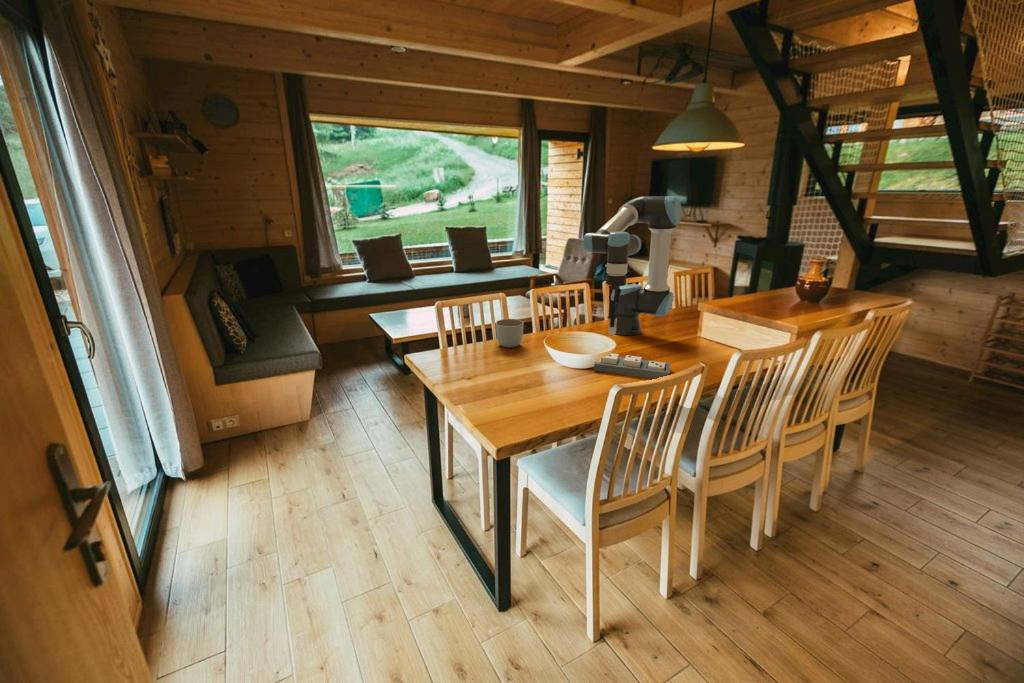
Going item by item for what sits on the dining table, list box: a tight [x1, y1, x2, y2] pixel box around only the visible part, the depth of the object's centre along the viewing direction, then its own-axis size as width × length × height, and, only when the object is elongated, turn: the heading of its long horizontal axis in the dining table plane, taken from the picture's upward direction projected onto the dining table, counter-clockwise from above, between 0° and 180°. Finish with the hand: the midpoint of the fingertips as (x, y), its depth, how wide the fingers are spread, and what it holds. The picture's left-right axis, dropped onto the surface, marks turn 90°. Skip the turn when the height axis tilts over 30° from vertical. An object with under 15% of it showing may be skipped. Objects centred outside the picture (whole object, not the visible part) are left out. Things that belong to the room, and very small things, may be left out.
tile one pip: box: [601, 352, 620, 364], centre depth 187 cm, size 6×6×3 cm
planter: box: [495, 318, 524, 349], centre depth 213 cm, size 12×12×11 cm
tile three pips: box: [648, 360, 666, 371], centre depth 182 cm, size 6×6×3 cm
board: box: [593, 356, 672, 380], centre depth 185 cm, size 11×28×3 cm, turn 69°
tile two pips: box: [624, 354, 643, 367], centre depth 184 cm, size 6×6×3 cm
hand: (611, 334), depth 184 cm, fingers closed
